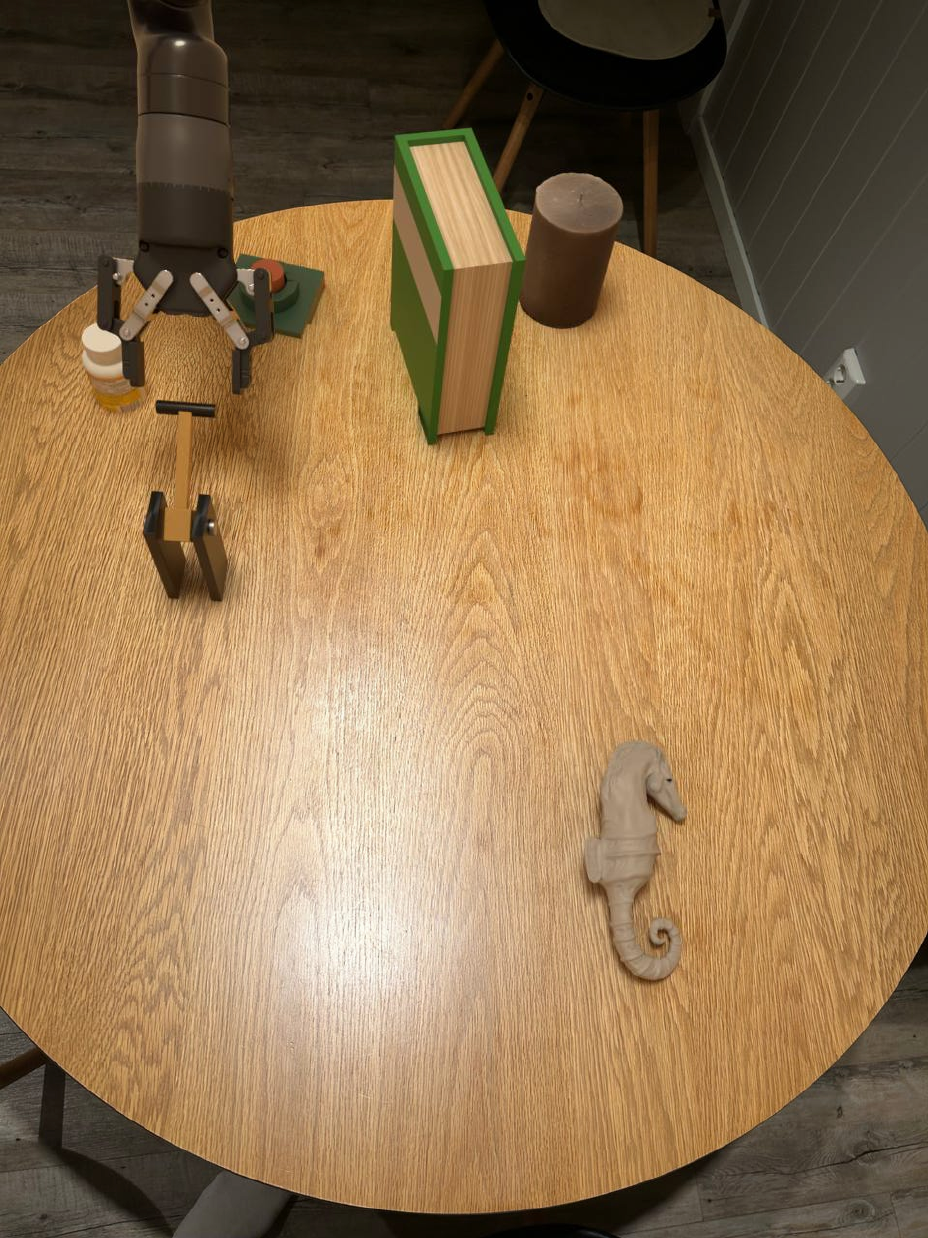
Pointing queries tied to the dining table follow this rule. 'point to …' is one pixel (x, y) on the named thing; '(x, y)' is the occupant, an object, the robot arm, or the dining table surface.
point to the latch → (183, 466)
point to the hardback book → (452, 279)
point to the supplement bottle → (109, 372)
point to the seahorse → (633, 848)
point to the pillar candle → (569, 248)
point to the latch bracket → (171, 553)
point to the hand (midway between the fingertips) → (188, 390)
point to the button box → (282, 298)
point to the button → (272, 272)
